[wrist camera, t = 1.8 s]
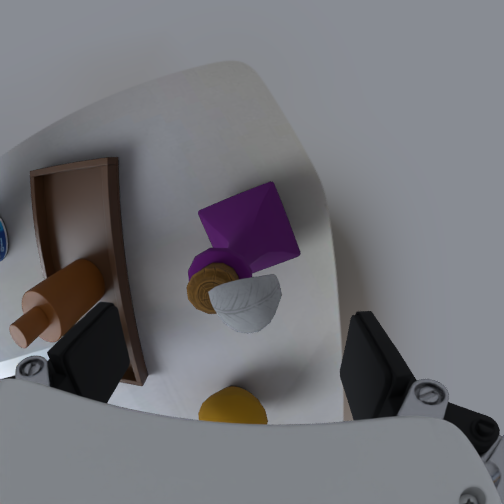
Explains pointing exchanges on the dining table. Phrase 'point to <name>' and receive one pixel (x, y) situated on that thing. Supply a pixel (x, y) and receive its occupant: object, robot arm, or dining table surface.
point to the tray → (87, 236)
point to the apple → (233, 407)
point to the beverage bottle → (3, 240)
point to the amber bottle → (58, 303)
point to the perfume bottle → (242, 258)
